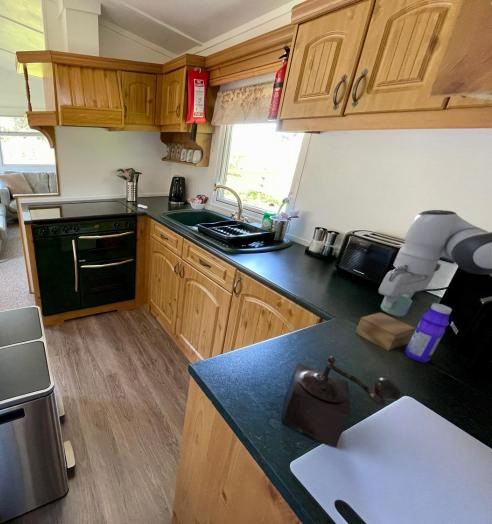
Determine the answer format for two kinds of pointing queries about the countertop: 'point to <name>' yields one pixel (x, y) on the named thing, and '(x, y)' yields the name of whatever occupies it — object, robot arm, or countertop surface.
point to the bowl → (398, 306)
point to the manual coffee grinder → (326, 401)
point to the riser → (384, 330)
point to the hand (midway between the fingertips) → (395, 304)
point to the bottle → (428, 333)
